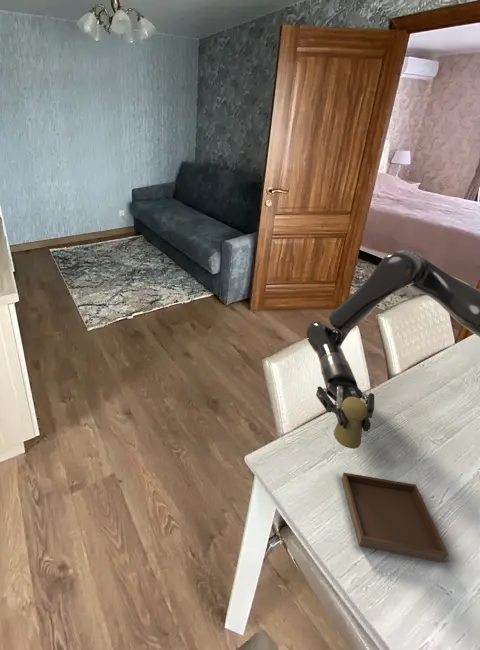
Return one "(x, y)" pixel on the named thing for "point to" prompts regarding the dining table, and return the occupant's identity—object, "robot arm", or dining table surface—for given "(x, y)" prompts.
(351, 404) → the cork
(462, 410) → the dining table surface
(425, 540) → the tray
